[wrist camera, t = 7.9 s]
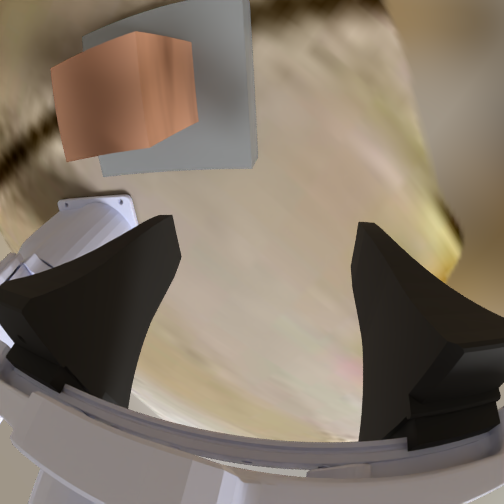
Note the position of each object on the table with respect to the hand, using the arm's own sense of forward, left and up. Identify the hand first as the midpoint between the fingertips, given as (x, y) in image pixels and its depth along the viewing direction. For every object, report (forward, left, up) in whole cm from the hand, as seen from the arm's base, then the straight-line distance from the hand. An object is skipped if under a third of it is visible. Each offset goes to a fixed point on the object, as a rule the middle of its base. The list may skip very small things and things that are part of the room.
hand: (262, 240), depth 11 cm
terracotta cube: (-7, +6, -7) cm, 12 cm away
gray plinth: (-7, +6, -9) cm, 13 cm away
